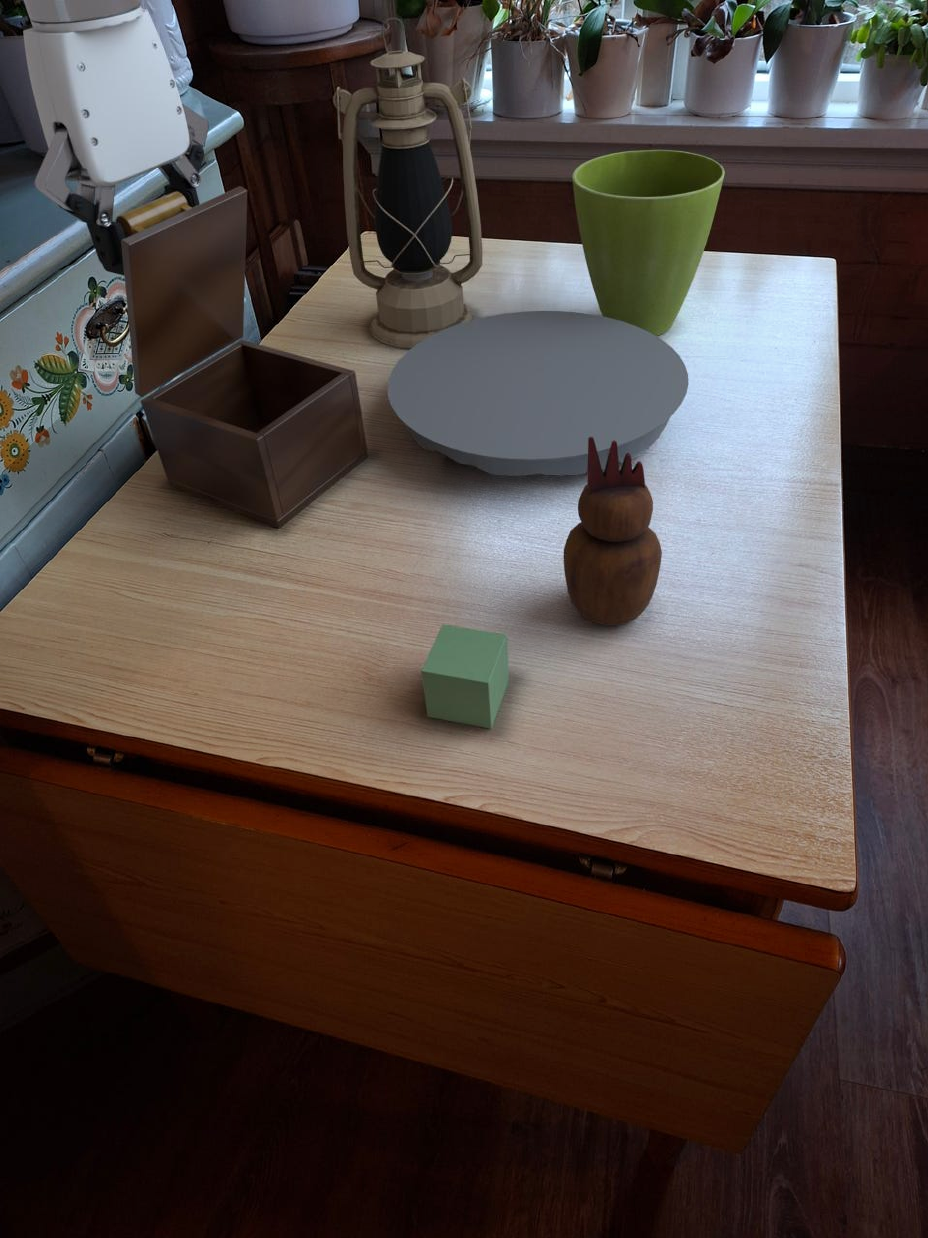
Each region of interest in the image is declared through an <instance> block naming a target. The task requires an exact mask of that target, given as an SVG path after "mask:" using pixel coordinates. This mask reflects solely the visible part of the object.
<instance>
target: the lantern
mask: <svg viewBox="0 0 928 1238" xmlns="http://www.w3.org/2000/svg"><path fill="white" fill-rule="evenodd" d="M391 20H396V21H398V22H400V23H401V25H402V30H403V45H402V50H394V51H393V50H392V51H389V50H388V48H387V44H386V43H387V42H386V38H385V32H384V26H385V24H386V23H387V22H388V21H391ZM381 34H382V39H383V43H384V47H385V50H386V53H384V54H381V56H378V57H377V58H375V59H372V60H371V61H370V65H371V66H372V67H374V68H375V70H376V79H377V83H376V85H375V86H369V87H364V88H360V89H358V90H356V91H354V92H353V93H351V92H349V91H348V90H346V89H343V88H342V89H341V87H340V86H338V87H337V88H336V91H335V92H334V95H333V98H332V102H333V106H334V108H336V110H337V132H338V133H337V135H338V139H339V140H341V143H342V147H343V149H342V150H343V154H342V155H343V157H342V158H343V159H342V161H343V162H342V163H343V165H342V167H343V188H344V193H343V194H344V208H345V223H346V235H347V242H348V251H349V260H350V264H351V269H352V272H353V274H352V275H354V277H355V278H356V279H357V280H358V281H359V282H361V284H363V285H365V286H367V287H368V288H370V289H374V290H376V292H375V298H376V307H377V312H376V314H375V316H374V318H373V319H372V322H371V324H370V331H371V335H372V337H374V338H375V339H376V340H377V341H379V342H380V343H381V344H385V345H388V346H390V347H392V348H393V347H394V348H400V349H409V350H410V349H411V348H413V347H414V346H415V345H417V344H418V343H420V342H421V341H423V340H425V339H426V338H428V337H430V336H432V335H434V334H436V333H438V332H440V331H442V330H445V329H447V328H450V327H452V326H455V325H458V324H461V323H464V322H468V321H471V320H475V317H474V315H473V313H472V311H471V310H470V308H469V307H468V306H467V305H466V304H465V303H464V288H463V285H462V284H464V283H467V282H468V281H469V280H471V279H473V277H475V276H476V275H477V274H478V272H479V271H480V270H481V268H482V266H483V254H484V253H483V237H482V225H481V216H480V209H479V208H480V207H479V199H478V191H477V183H476V177H475V176H476V175H475V171H474V170H475V169H474V164H473V158H472V153H471V134H472V133H471V130H472V128H473V127H472V119H471V112H470V107H469V100H470V99H471V96H472V87H471V85H470V83H469V82H468V81H467V80H466V79H465V77H462V78H461V80H458V81H457V82H456V83H455V84H454V85H453V86H452V87H450V86H448V85H446V84H444V83H440V82H439V83H438V82H424V81H423V80H422V70H421V64H422V63H423V62H424V60H425V59H426V58H425V56H423V55H420V54H416V53H413V52H411V51H406V50H405V46H406V39H405V38H406V32H405V25H404V23H403V21H402V20H401V19H400V18H397V17H389V18H386V20H384V22H383V23H382V26H381ZM410 67H414V68H415V69H414V70H415V71H414V74H410V73H406V72H404V68H410ZM382 69H383V70H388V69H389V70H393V69H394V73H393V74H391V75H387V76H384V74H383V70H382ZM467 87H468V89H467ZM425 100H438V101H440V102H441V104H442V105H443V106H444V108H445V110H446V114H447V118H448V120H449V124H450V128H451V132H452V137H453V143H454V147H455V152H456V157H457V163H458V169H459V174H460V182H461V190H460V191H461V192H460V196H459V198H458V201H457V205H456V207H455V210H454V211H453V212H451V210H450V209H451V208H450V205H449V202H448V197H447V195H448V194H449V192H450V190H452V186H453V183H454V178H453V176H447V177H445V178H444V179H442V175H441V173H440V170H439V166H438V163H437V160H436V157H435V155H434V151H433V149H432V146H431V143H430V140H431V137H430V135H428V127H427V125H428V124H431V123H433V122H434V121H436V119H437V117H438V115H437V113H436V111H433V110H431V109H428V108H426V102H425ZM371 104H372V105H373V104H378V111H379V112H377V113H376V114H374V115H372V116H371V117H370V119H369V123H370V125H371V126H372V127H374V128H377V129H380V130H381V137H382V139H381V141H380V145H381V151H380V156H379V161H378V171H377V181H376V188H374V189H373V190H372V196H373V199H374V205H375V206H374V214H373V212H372V211H371V210H370V208H369V206H368V204H367V202H366V201H365V198H364V196H363V195H362V192H361V190H360V189H359V182H358V181H359V180H358V133H359V124H360V123H359V122H360V114H361V112H362V111H363V108H364V106H366V105H371ZM464 104H465V105H466V111H467V117H468V131H467V127H466V122H465V119H464V115H463V112H462V108H461V107H462V106H463V105H464ZM340 113H343V114H344V120H343V133H342V132H341V121H340V120H341V118H340V117H341V115H340ZM448 179H451V183H450V185H449V187H448V190H447V191H446V189H445V186H444V183H443V182H445V181H447V180H448ZM359 196H360V199H361V200H362V203H363V204H364V206H365V208H366V210H367V211H368V213H369V214H370V215H371V216H370V217H372V218H373V219H374V229H375V235H376V240H377V244H378V247H379V249H380V252H381V254H382V255H383V257H384V258H385V259H386V260H387V261H389V262H390V263H391V266H384V265H383V264H382V263H381V262H380V261H379V260H378V259H375V260H365V261H364V253H363V244H362V235H361V221H360V220H361V219H360V206H359ZM462 197H463V201H464V210H465V216H466V217H465V218H466V224H467V225H466V226H467V236H468V247H469V248H468V249H469V253H467V254H465V253H463V254H455V255H454V256H453V258H452V260H451V261H449V262H441V260H442V259H443V258H444V257H445V256H446V254H447V253H448V252H449V249H450V246H451V243H452V238H453V221H452V216H454V215H455V214H456V213H457V212H458V210H459V207H460V204H461V201H462ZM463 256H469V261H468V262H467V264H466V265H465V266H463V267H462V268H461V269H459V270H457V271H454V272H451V270H450V269H449V268H447V267H445V266H444V265H449V264H452V263H453V262H454V260H455V258H456V257H463ZM365 263H378V264H379V266H380V267H382V268H383V269H392V270H390V271H388V273H387V274H386V275H385V277H383V276H379V275H376V274H374V273H372V272H371V271H368V270H367V268H366V265H365Z"/></svg>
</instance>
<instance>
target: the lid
mask: <svg viewBox="0 0 928 1238" xmlns="http://www.w3.org/2000/svg"><path fill="white" fill-rule="evenodd" d="M247 217H248V190H247V189H246V188H244V187H243V186H241V185H240V186H239V185H238V186H237V187H235V188H233V189H230V190H229V191H226V192H224V193H222V194H219V195H217V196H215V197H213V198H211V199H209V200H206V201H204V202H202V203H200V205H197V206H195V207H193V208H192V207H190V206H188V203H187V200H186V199H185V197H184V196H183V195H182V194H181V193H180V192H177V191H175V192H173V193H170V194H168V195H166V196H165V195H164V196H161V197H159V198H157V199H154V200H152V201H149V202H148V203H147V202H146V203H145V204H143V205H140V206H138V207H136V208H134V209H132V210H129V211H127V212H124V213H122V214H120V215H118V216H117V217H116V218H115V222H117V223H120V224H121V226H122V228H123V231H124V234H125V237H126V238H125V239H123V240H121V244H122V255H123V266H124V285H125V297H126V307H127V319H128V330H129V338H130V339H129V341H130V350H131V352H130V354H131V362H132V373H133V374H132V375H133V386H134V393H135V394H136V395H137V396H139V397H140V398H145V396H148V394H149V395H150V394H151V393H153V391H154V392H155V391H156V390H158V389H160V387H163V386H165V385H166V384H168V383H170V382H171V381H173V380H175V379H176V378H178V377H180V375H183V373H184V374H185V372H188V370H189V371H190V370H191V369H193V367H194V368H195V367H196V366H198V365H200V363H203V362H205V361H206V360H208V358H209V359H210V358H211V357H213V356H215V354H218V353H220V352H221V351H223V349H224V350H225V349H226V348H228V347H230V346H231V345H233V344H235V343H236V342H238V341H240V340H241V339H242V338H244V328H245V327H244V326H245V324H244V323H245V288H246V286H245V285H246V257H247V256H246V254H247V253H246V250H247V220H248V219H247Z"/></svg>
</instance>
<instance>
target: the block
mask: <svg viewBox="0 0 928 1238" xmlns="http://www.w3.org/2000/svg"><path fill="white" fill-rule="evenodd" d="M508 650H509V649H508V635H507V634H505V633H498V632H493V631H486V630H481V629H475V628H468V627H462V626H456V625H450V624H442V625H441V627H440V630H439V632H438V633H437V636H436V638H435V640H434V643H433V644H432V646H431V649H430V651H429V653H428V656H427V657H426V660H425V662H424V664H423V666H422V669H421V671H420V672H421V678H422V686H423V692H424V693H423V694H424V701H425V707H426V715H427V717H428V718H432V719H438V720H442V721H449V722H453V723H458V724H463V725H468V726H474V727H480V728H484V729H489V730H492V728H493V726H494V723H495V720H496V718H497V715H498V712H499V710H500V708H501V707H500V706H501V704H502V701H503V698H504V697H505V696H504V695H505V692H506V691H507V687H508V684H509V681H510V678H509V677H510V676H509V653H508V652H509V651H508Z"/></svg>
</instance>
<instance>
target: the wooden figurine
mask: <svg viewBox="0 0 928 1238" xmlns="http://www.w3.org/2000/svg"><path fill="white" fill-rule="evenodd" d="M621 463H622V462H621ZM632 463H633V462H632V458H631V455H630V453H626V455H625V458H624V461H623V463H622V464H621V467H620V461H619V460H618V449H617V442H616V441H612V444H611V447H610V451H609V455H608V459H607V463H606V467H605V468H604V469H602V468H601V464H600V460H599V456H598V453H597V449H596V445H595V442H594V438H593V437H589V438H588V470H587V472H586V474H587V475H586V476H587V479H586V480H587V483H586V484H585V485H584V486H583V489H582V491H581V493H580V496H579V498H578V502H577V503H578V504H577V512H578V514H577V515H578V517H579V520H580V522H579V523H577V524H576V525H575V526H574V527H573V528H572V529H571V530H570V531H569V533H568V535H567V538H566V540H565V543H564V547H563V571H564V578H565V582H566V583H565V584H566V589H567V594H568V597H569V600H570V602H571V604H572V605H573V607H574V608H575V609H576V611H577V612H578V613H579V614H580V615H581V616H582V617H584V618H586V619H587V620H590V621H592V622H594V623H597V624H600V625H605V626H616V625H625V624H627V623H630V622H632V621H634V620H636V619H638V618H639V617H640V616H641V614H643V612H644V611H645V610H646V609H647V608H648V607H649V605H650V603H651V601H652V599H653V595H654V594H655V590H656V587H657V584H658V580H659V574H660V569H661V565H662V557H663V551H662V547H661V543H660V540H659V538H658V536H657V534H656V532H655V531H654V530H653V529H651V528H650V524H651V520H652V516H653V511H654V500H653V498H652V494H651V492H650V490H649V488H648V486H647V485H646V480H645V479H646V478H645V472H644V466H643V463H642V461H641V460H638V461H637V462H636V463H635V464H634V466H633V464H632ZM632 466H633V467H632ZM603 470H604V471H603Z"/></svg>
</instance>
